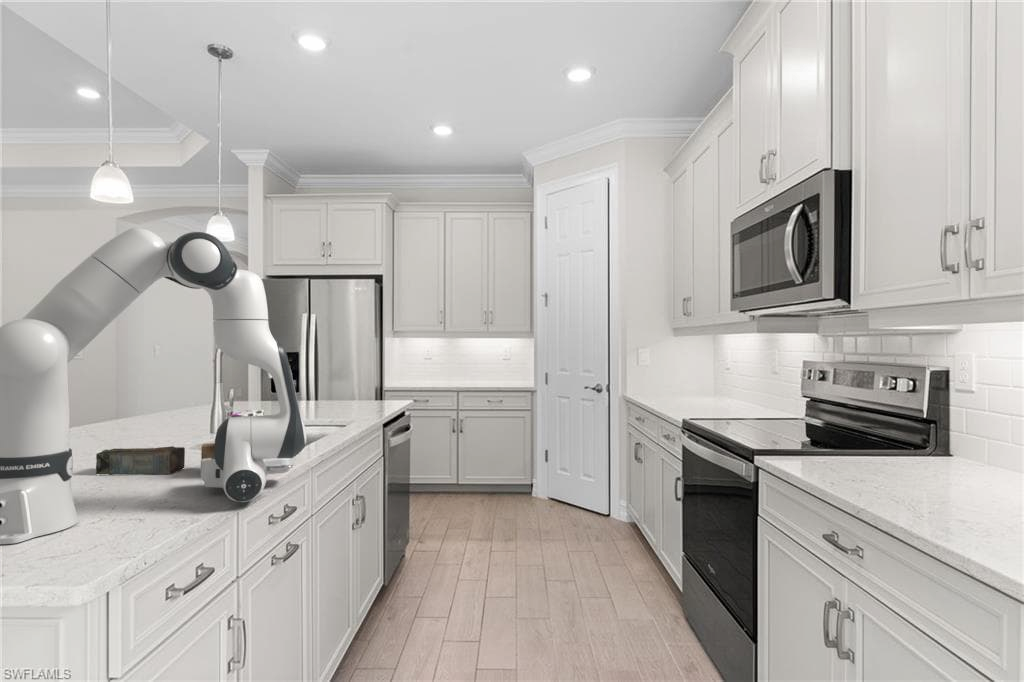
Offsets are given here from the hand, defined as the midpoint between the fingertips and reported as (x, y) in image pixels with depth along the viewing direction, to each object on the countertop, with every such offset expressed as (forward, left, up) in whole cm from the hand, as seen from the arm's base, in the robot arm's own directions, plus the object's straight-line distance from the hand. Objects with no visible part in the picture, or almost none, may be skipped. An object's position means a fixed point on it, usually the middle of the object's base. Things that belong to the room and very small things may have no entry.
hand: (247, 459), depth 148 cm
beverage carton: (-26, +19, -5) cm, 33 cm away
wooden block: (0, +14, -5) cm, 15 cm away
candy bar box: (0, +6, -5) cm, 8 cm away
